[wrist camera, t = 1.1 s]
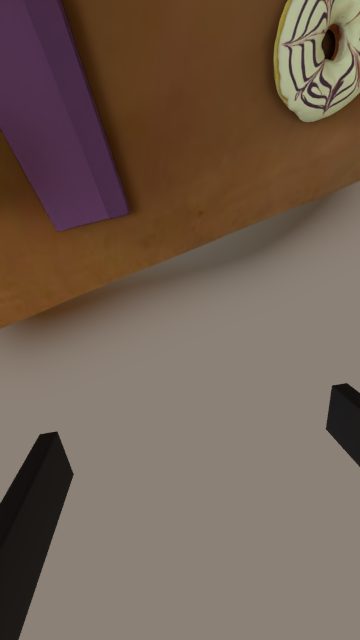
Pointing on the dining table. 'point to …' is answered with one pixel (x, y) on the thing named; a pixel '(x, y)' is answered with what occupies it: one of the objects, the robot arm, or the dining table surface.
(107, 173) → the plum cloth
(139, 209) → the dining table surface
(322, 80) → the decorated donut
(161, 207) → the dining table surface
